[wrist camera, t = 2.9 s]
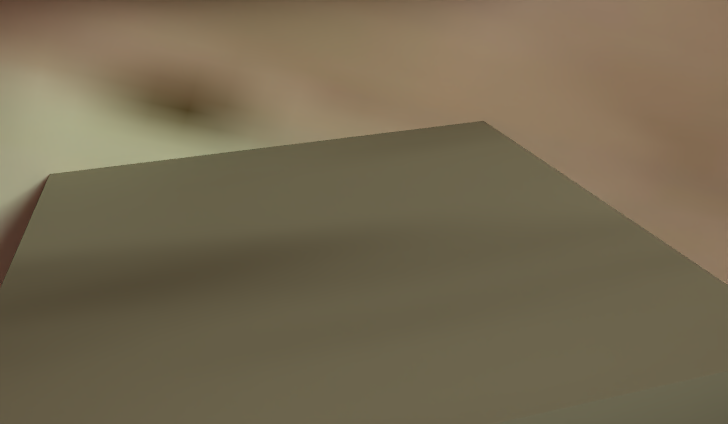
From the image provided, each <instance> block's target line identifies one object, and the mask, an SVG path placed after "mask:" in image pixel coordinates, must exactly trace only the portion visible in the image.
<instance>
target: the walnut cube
mask: <svg viewBox="0 0 728 424" xmlns="http://www.w3.org/2000/svg"><path fill="white" fill-rule="evenodd" d="M0 424H728V285H727V284H725V283H724V282H722V281H721V280H719V279H718V278H716V277H715V276H713V275H712V274H710V273H709V272H707V271H706V270H704V269H703V268H702V267H700V266H699V265H697V264H696V263H694V262H693V261H691V260H690V259H688V258H687V257H685V256H684V255H682V254H681V253H679V252H678V251H676V250H675V249H673V248H672V247H670V246H669V245H667V244H666V243H664V242H663V241H661V240H660V239H658V238H657V237H655V236H654V235H652V234H651V233H649V232H648V231H647V230H645V229H644V228H642V227H641V226H639V225H638V224H636V223H635V222H633V221H632V220H630V219H629V218H627V217H626V216H624V215H623V214H621V213H620V212H618V211H617V210H615V209H614V208H612V207H611V206H609V205H608V204H606V203H605V202H603V201H602V200H600V199H599V198H597V197H596V196H594V195H593V194H592V193H590V192H589V191H587V190H586V189H584V188H583V187H581V186H580V185H578V184H577V183H575V182H574V181H572V180H571V179H569V178H568V177H566V176H565V175H563V174H562V173H560V172H559V171H557V170H556V169H554V168H553V167H551V166H550V165H548V164H547V163H545V162H544V161H542V160H541V159H539V158H538V157H537V156H535V155H534V154H532V153H531V152H529V151H528V150H526V149H525V148H523V147H522V146H520V145H519V144H517V143H516V142H514V141H513V140H511V139H510V138H508V137H507V136H505V135H504V134H502V133H501V132H499V131H498V130H496V129H495V128H493V127H492V126H490V125H489V124H487V123H486V122H484V121H480V122H472V123H463V124H455V125H447V126H439V127H431V128H423V129H415V130H406V131H398V132H390V133H382V134H374V135H366V136H358V137H349V138H341V139H333V140H325V141H317V142H309V143H300V144H292V145H284V146H276V147H268V148H260V149H252V150H243V151H235V152H227V153H219V154H211V155H203V156H195V157H186V158H178V159H170V160H162V161H154V162H146V163H138V164H129V165H121V166H113V167H105V168H97V169H89V170H81V171H72V172H64V173H56V174H50V175H49V177H48V180H47V182H46V184H45V187H44V189H43V191H42V194H41V196H40V198H39V200H38V203H37V205H36V207H35V210H34V212H33V214H32V216H31V219H30V221H29V223H28V226H27V228H26V230H25V233H24V235H23V237H22V239H21V242H20V244H19V246H18V249H17V251H16V253H15V256H14V258H13V260H12V262H11V265H10V267H9V269H8V272H7V274H6V276H5V279H4V281H3V283H2V285H1V288H0Z"/></svg>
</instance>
